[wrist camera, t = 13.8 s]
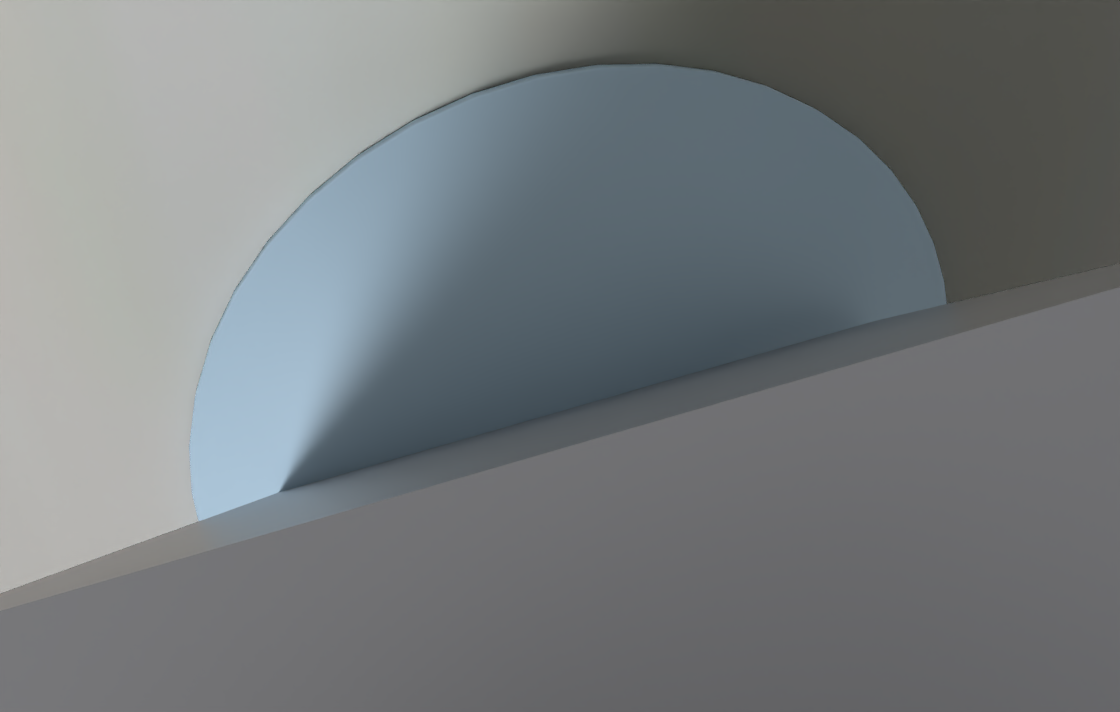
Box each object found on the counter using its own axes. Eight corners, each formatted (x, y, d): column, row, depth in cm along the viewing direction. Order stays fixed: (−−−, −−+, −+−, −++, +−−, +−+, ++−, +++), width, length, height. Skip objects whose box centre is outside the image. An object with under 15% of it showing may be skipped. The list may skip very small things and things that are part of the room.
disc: (698, 734, 15) (702, 745, 15) (89, 656, 11) (86, 669, 11) (1075, 258, 12) (1087, 265, 12) (391, -135, 7) (393, -133, 7)
